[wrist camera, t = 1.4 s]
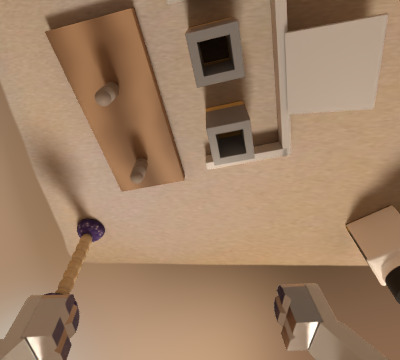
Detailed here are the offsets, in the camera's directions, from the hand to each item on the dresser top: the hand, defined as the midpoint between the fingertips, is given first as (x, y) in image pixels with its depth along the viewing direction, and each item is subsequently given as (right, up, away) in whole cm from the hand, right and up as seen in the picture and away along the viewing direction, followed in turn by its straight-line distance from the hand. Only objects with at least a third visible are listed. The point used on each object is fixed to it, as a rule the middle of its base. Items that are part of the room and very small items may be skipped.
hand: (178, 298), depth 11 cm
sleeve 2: (+4, +12, +22) cm, 25 cm away
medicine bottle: (+29, -3, +31) cm, 43 cm away
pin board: (-8, +13, +21) cm, 26 cm away
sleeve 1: (+2, +19, +17) cm, 25 cm away
